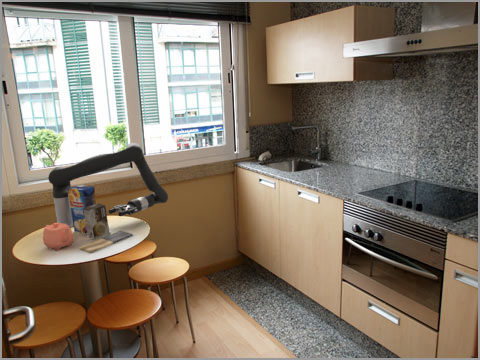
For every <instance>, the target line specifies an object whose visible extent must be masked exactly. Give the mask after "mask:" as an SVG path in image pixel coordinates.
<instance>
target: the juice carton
mask: <svg viewBox="0 0 480 360" xmlns="http://www.w3.org/2000/svg"><path fill="white" fill-rule="evenodd" d="M67 190H68V196H69V202H70V208H71V214H72V220H73V226H72V227H73V231H74V232H76V233H81V234H87V228H86V222H85V216H84V210H83V208H85V207H88V206H92V205H95V204H98V202H97V201H98V200H97V196H96V195H97V194H96V189H95V186H91V185H82V184H78V185H77V184H76V185H74V186H71V188H67ZM87 235H88V234H87Z"/></svg>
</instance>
